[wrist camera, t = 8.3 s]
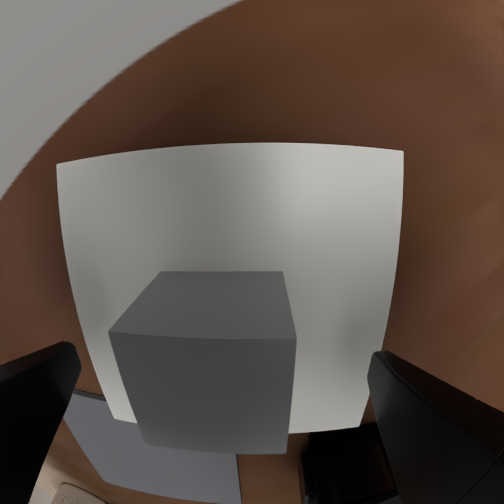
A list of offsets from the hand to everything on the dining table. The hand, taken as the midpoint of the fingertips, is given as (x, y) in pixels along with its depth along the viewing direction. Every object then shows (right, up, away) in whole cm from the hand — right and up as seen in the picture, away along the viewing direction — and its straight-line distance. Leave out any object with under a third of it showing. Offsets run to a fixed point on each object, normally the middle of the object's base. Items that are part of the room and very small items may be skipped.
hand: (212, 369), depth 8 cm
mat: (-8, -14, +12) cm, 20 cm away
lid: (0, +1, +3) cm, 3 cm away
